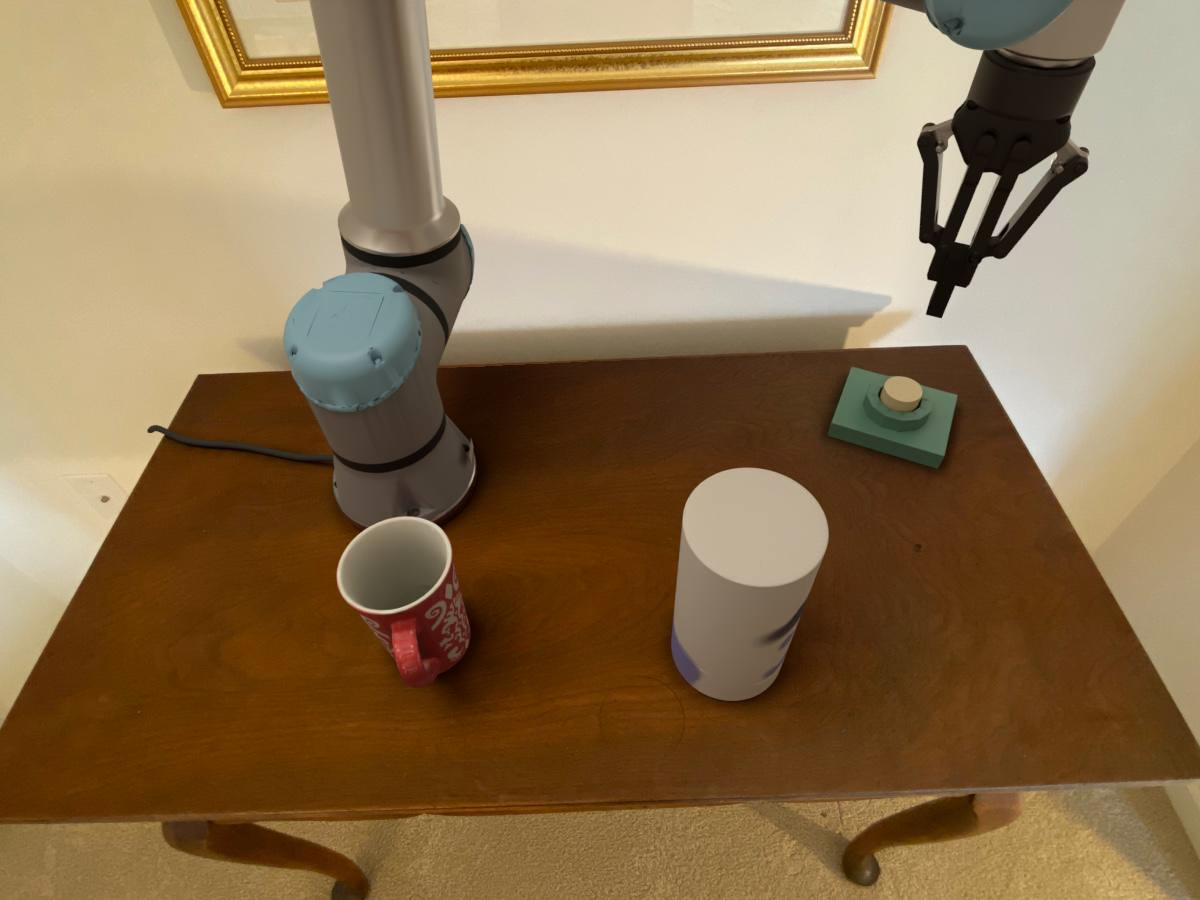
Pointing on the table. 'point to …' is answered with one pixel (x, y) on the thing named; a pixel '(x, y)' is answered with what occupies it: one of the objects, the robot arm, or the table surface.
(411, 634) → the mug
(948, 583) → the table surface
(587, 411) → the table surface
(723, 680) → the container
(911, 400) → the cream push button
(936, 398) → the green button base
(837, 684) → the table surface
